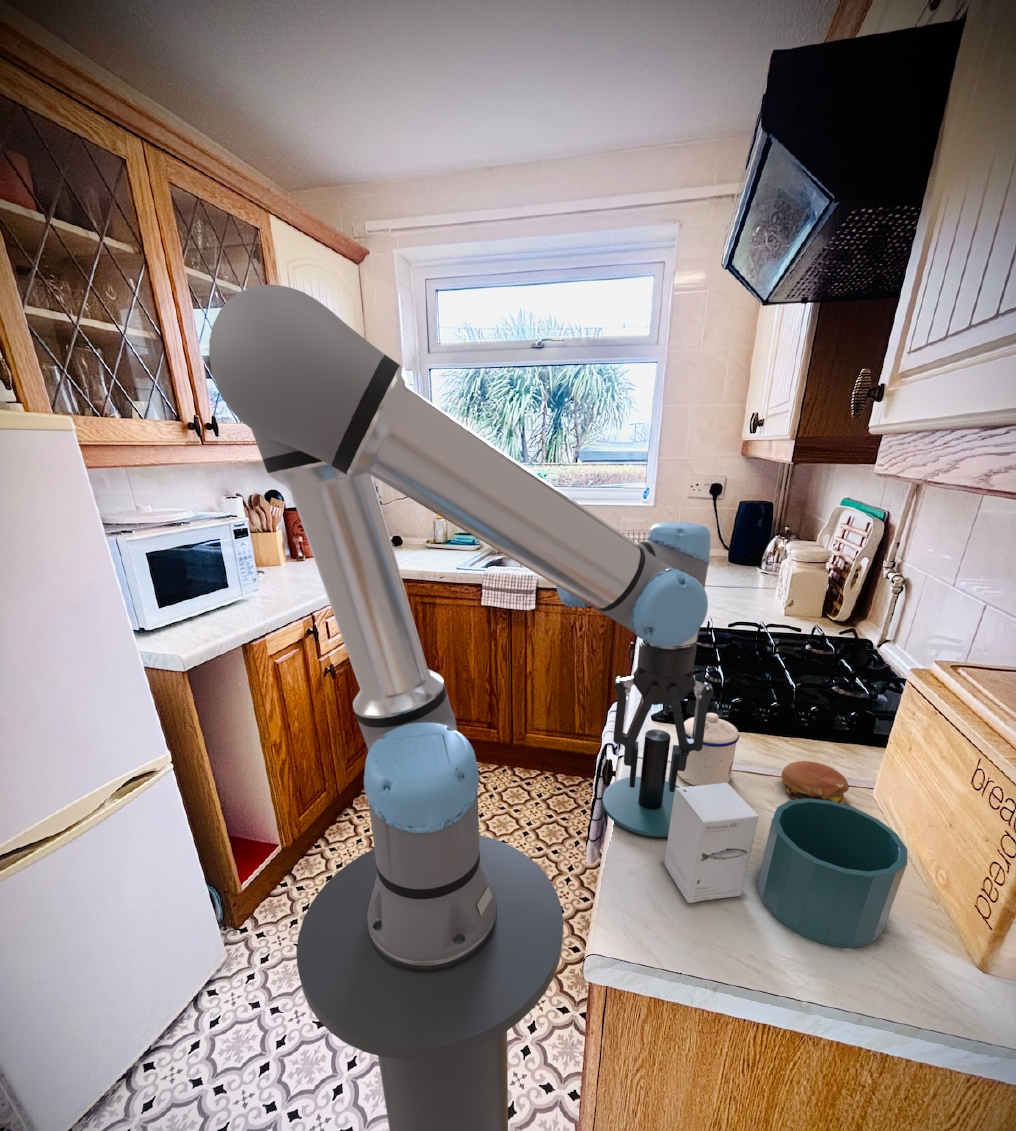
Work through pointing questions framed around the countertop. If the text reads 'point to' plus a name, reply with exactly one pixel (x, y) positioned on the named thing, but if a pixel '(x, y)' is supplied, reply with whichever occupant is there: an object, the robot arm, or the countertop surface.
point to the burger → (814, 781)
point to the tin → (831, 872)
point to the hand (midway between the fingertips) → (651, 784)
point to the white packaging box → (709, 841)
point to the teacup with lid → (711, 752)
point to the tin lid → (644, 792)
